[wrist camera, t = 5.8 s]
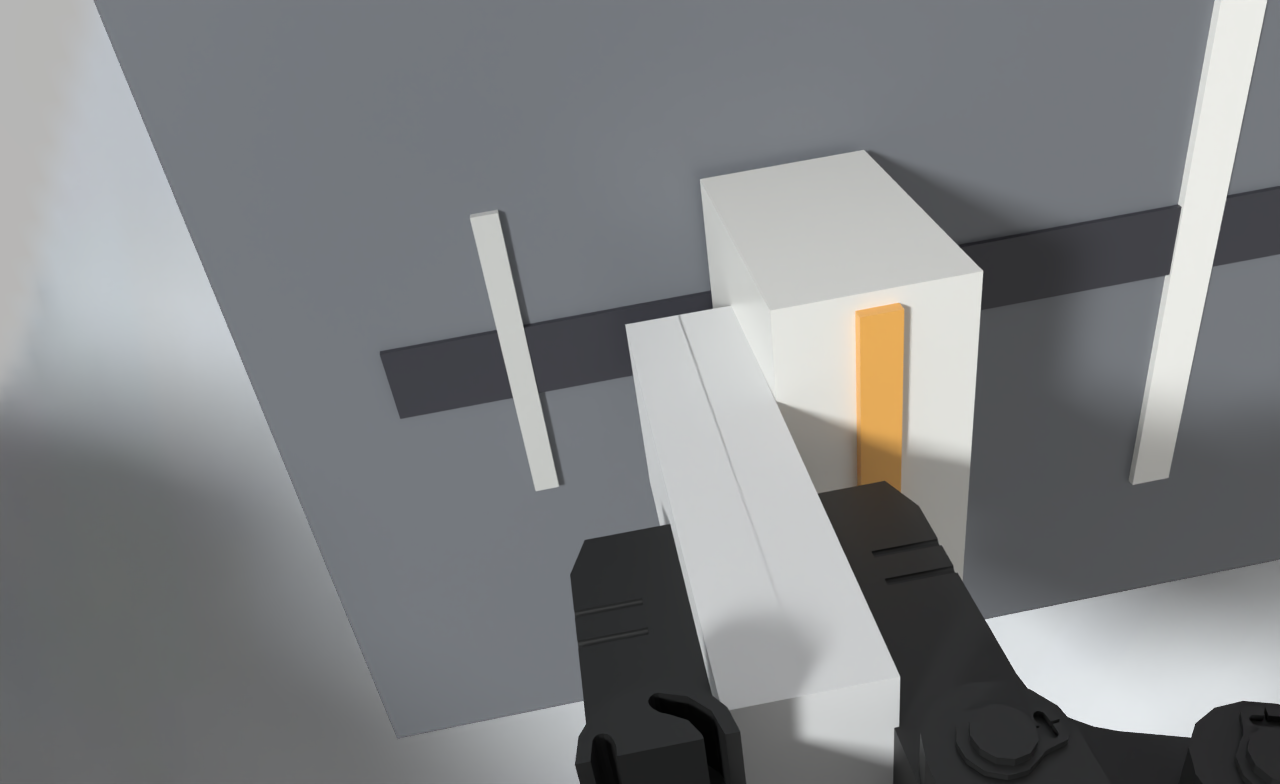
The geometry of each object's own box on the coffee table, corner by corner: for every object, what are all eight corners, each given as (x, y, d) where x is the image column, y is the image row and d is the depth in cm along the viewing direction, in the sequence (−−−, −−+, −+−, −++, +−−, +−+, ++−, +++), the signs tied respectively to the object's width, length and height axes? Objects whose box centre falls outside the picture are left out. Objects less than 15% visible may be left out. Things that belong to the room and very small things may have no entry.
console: (402, 661, 22) (396, 744, 20) (77, -194, 13) (12, -185, 11) (1374, 468, 23) (1452, 529, 21) (1694, -446, 14) (1876, -475, 12)
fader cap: (728, 456, 17) (794, 638, 14) (699, 179, 14) (774, 317, 11) (865, 430, 17) (965, 603, 14) (863, 149, 14) (989, 277, 11)
